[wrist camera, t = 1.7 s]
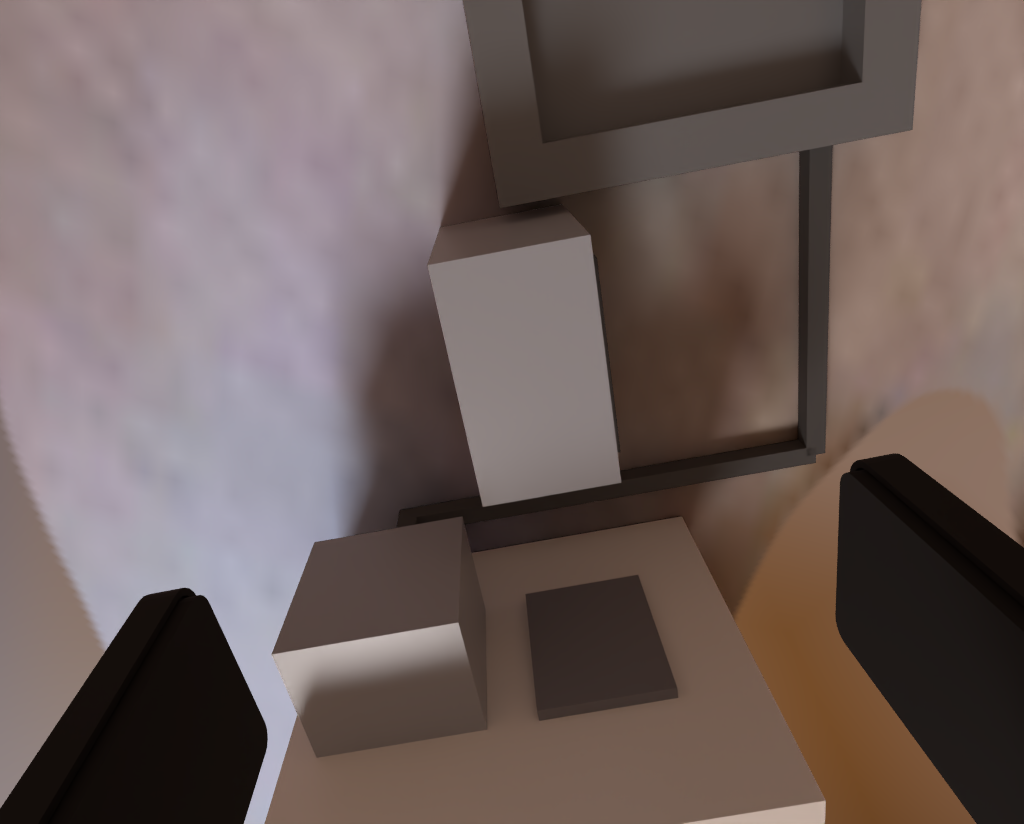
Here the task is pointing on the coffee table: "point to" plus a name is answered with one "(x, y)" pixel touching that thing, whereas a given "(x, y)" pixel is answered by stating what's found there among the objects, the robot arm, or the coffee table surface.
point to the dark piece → (735, 463)
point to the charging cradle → (681, 84)
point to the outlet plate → (527, 687)
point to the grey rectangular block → (528, 353)
